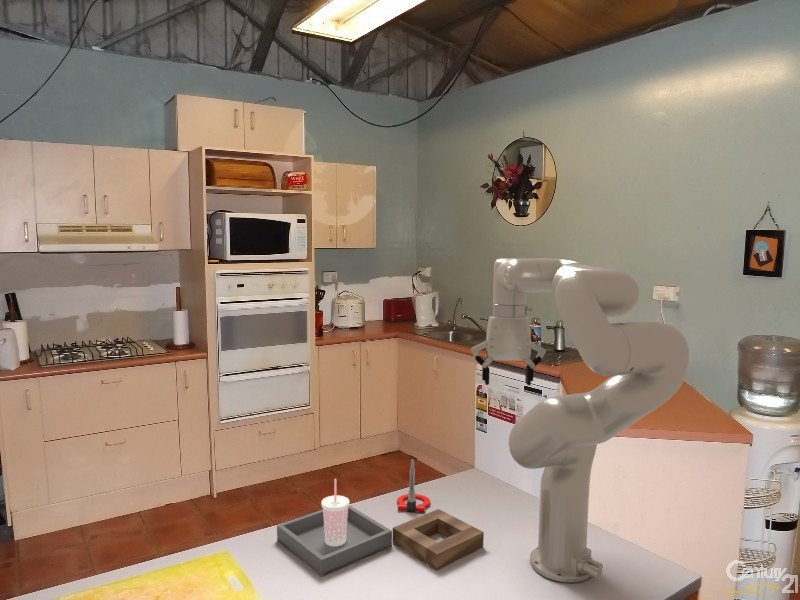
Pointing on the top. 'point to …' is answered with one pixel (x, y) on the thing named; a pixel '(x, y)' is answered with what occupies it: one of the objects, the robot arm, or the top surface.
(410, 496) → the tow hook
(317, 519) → the tray
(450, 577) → the top surface
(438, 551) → the square wooden frame block
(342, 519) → the beverage cup
